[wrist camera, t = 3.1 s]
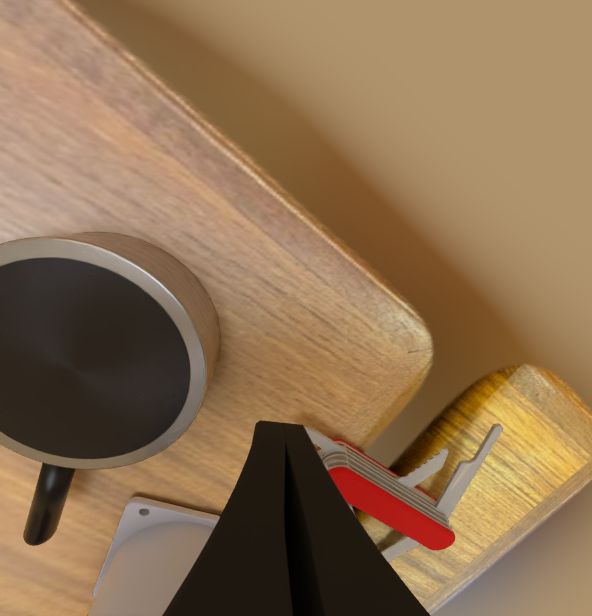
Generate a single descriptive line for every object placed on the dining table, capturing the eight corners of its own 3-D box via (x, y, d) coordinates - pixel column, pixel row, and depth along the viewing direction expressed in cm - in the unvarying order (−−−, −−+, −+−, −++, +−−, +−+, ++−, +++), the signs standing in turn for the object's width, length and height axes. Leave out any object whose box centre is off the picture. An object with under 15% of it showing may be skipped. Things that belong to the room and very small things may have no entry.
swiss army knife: (406, 358, 11) (391, 332, 13) (211, 525, 15) (220, 488, 17) (567, 486, 14) (536, 450, 16) (364, 596, 18) (358, 559, 20)
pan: (250, 284, 13) (244, 304, 10) (152, 517, 16) (126, 582, 13) (27, 192, 11) (-58, 184, 8) (-29, 476, 15) (-103, 541, 12)
